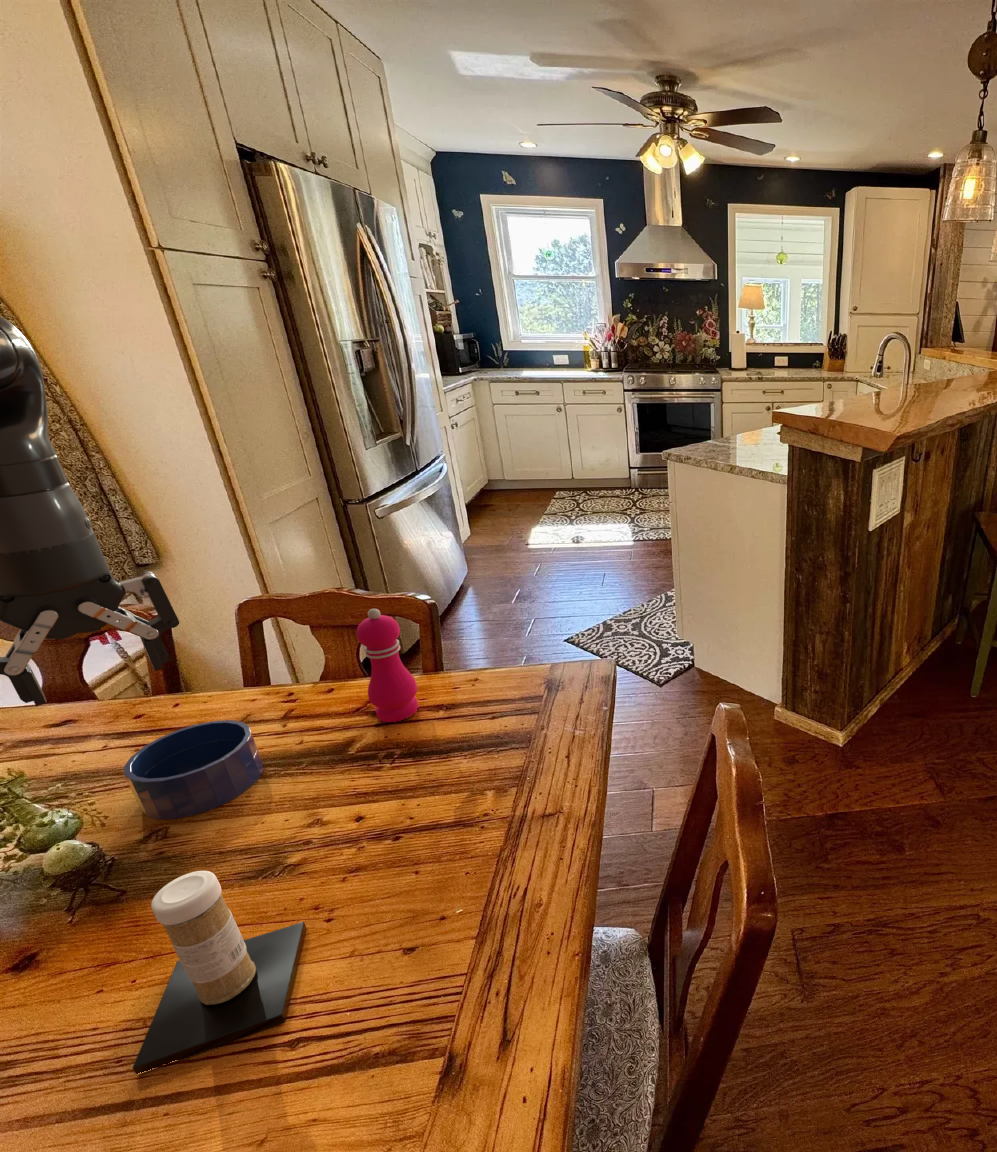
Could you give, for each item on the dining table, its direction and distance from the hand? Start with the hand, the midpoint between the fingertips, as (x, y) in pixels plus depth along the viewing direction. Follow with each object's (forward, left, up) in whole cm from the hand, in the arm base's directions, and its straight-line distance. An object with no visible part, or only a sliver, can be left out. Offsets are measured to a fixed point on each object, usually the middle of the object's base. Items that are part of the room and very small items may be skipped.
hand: (102, 684), depth 63 cm
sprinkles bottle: (+8, -18, -27) cm, 34 cm away
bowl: (-4, +20, -28) cm, 35 cm away
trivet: (+8, -19, -28) cm, 35 cm away
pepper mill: (+20, +29, -28) cm, 45 cm away
